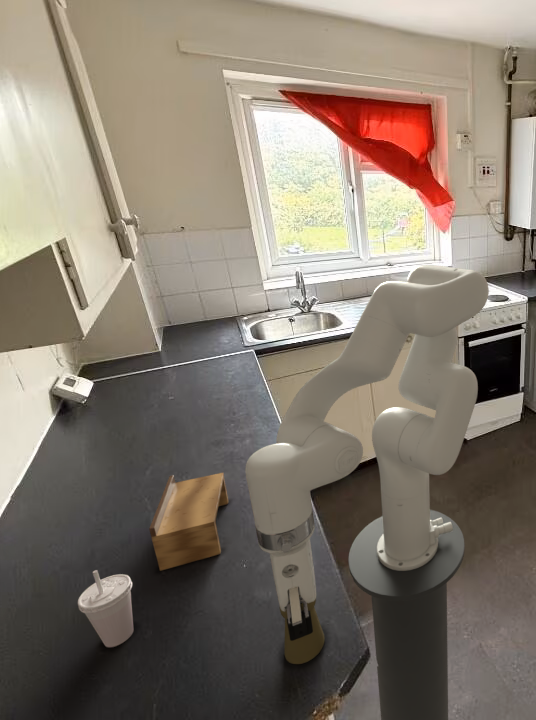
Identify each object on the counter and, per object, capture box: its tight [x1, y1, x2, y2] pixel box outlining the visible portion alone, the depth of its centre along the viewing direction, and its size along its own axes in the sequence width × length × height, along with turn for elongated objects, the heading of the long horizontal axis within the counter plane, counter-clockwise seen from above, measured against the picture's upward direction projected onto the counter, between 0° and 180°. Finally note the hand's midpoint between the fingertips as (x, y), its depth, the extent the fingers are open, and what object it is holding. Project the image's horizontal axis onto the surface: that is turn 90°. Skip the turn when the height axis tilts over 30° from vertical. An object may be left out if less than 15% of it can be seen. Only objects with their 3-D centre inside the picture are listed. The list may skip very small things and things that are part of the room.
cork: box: [279, 595, 326, 665], centre depth 67 cm, size 6×6×11 cm
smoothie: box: [77, 569, 135, 648], centre depth 68 cm, size 6×6×14 cm
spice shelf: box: [149, 472, 229, 572], centre depth 90 cm, size 10×18×10 cm, turn 26°
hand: (300, 618), depth 67 cm, fingers closed on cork, 5 cm apart
